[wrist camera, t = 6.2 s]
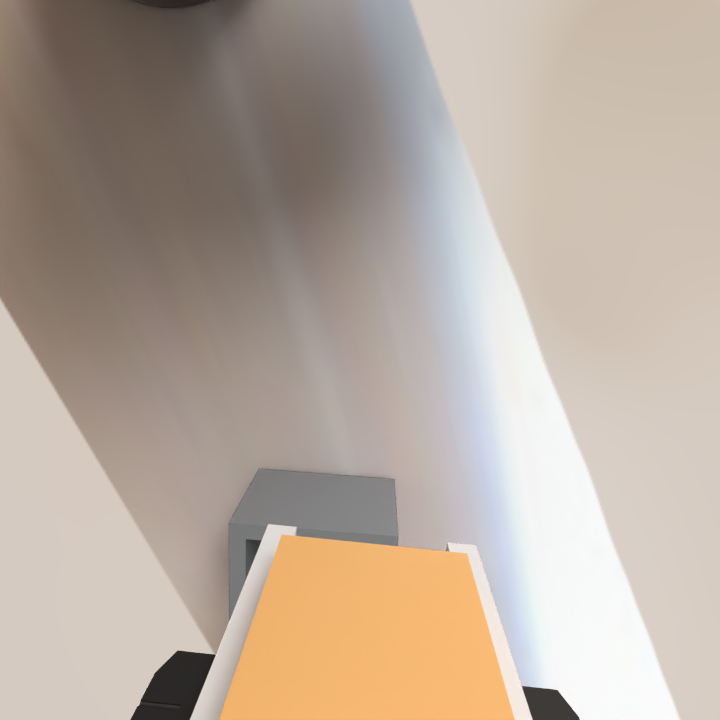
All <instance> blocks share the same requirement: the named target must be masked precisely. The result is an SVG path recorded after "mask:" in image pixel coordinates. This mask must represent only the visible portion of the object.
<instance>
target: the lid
mask: <svg viewBox="0 0 720 720" xmlns="http://www.w3.org/2000/svg"><path fill="white" fill-rule="evenodd" d="M219 720H515V719H514V715H513V712H512V708H511V705H510V701H509V698H508V694H507V691H506V687H505V684H504V680H503V677H502V673H501V670H500V666H499V663H498V659H497V656H496V653H495V649H494V646H493V642H492V639H491V635H490V632H489V628H488V625H487V621H486V618H485V614H484V611H483V607H482V604H481V600H480V597H479V593H478V590H477V586H476V583H475V579H474V576H473V572H472V569H471V565H470V562H469V558H468V555H467V553H458V552H448V551H438V550H429V549H419V548H409V547H399V546H390V545H380V544H370V543H360V542H351V541H341V540H331V539H322V538H312V537H302V536H292V535H283V534H282V535H281V538H280V541H279V544H278V547H277V550H276V553H275V556H274V559H273V562H272V565H271V568H270V571H269V574H268V577H267V580H266V582H265V585H264V588H263V591H262V594H261V597H260V600H259V603H258V606H257V609H256V612H255V615H254V618H253V621H252V624H251V627H250V630H249V633H248V635H247V638H246V641H245V644H244V647H243V650H242V653H241V656H240V659H239V662H238V665H237V668H236V671H235V674H234V677H233V680H232V683H231V686H230V688H229V691H228V694H227V697H226V700H225V703H224V706H223V709H222V712H221V715H220V718H219Z"/></svg>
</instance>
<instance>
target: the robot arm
mask: <svg viewBox="0 0 720 720" xmlns="http://www.w3.org/2000/svg"><path fill="white" fill-rule="evenodd" d="M133 1H136V2H139V3H143V4H146V5H152V6H158V7H185V6H191V5H196V4H200V3H203V2H206V1H209V0H133ZM296 531H297V527H292V526H282V525H273V524H268V526H267V529H266V531H265V534H264V536H263V539H262V541H261V544H260V546H259V549H258V551H257V554H256V556H255V559H254V561H253V564H252V566H251V569H250V571H249V574H248V576H247V579H246V581H245V584H244V586H243V589H242V591H241V593H240V596H239V598H238V601H237V603H236V606H235V608H234V611H233V613H232V616H231V618H230V621H229V623H228V626H227V628H226V631H225V633H224V636H223V638H222V641H221V643H220V646H219V648H218V651H217V653H216V655H213V654H204V653H194V652H185V651H177V652H176V653H175V654H174V655H173V656H172V657H171V658H170V659H169V660H168V661H167V662H166V663H165V664H164V665H163V666H162V667H161V668H160V669H159V670H158V671H157V672H156V673H155V674H154V677H153V678H152V680H151V682H150V684H149V686H148V688H147V689H146V691H145V693H144V695H143V697H142V699H141V702H140V705H139V706H138V707H137V709H136V710H135V712H134V714H133V716H132V718H131V720H219V718H220V715H221V712H222V709H223V706H224V703H225V700H226V697H227V694H228V691H229V688H230V686H231V683H232V680H233V677H234V674H235V671H236V668H237V665H238V662H239V659H240V656H241V653H242V650H243V647H244V644H245V641H246V638H247V635H248V633H249V630H250V627H251V624H252V621H253V618H254V615H255V612H256V609H257V606H258V603H259V600H260V597H261V594H262V591H263V588H264V585H265V582H266V580H267V577H268V574H269V571H270V568H271V565H272V562H273V559H274V556H275V553H276V550H277V547H278V544H279V541H280V538H281V535H282V534H283V535H292V536H296ZM446 551H448V552H458V553H467V555H468V558H469V562H470V565H471V569H472V572H473V576H474V579H475V583H476V586H477V590H478V593H479V597H480V600H481V604H482V607H483V611H484V614H485V618H486V621H487V625H488V628H489V632H490V635H491V639H492V642H493V646H494V649H495V653H496V656H497V659H498V663H499V666H500V670H501V673H502V677H503V680H504V684H505V687H506V691H507V694H508V698H509V701H510V705H511V708H512V712H513V715H514V719H515V720H580V719H579V717H578V716H577V714H576V713H575V712H574V711H573V709H572V708H571V707H570V706H569V704H568V703H567V702H566V701H565V699H564V698H563V697H562V696H561V694H560V693H559V692H558V690H552V689H543V688H534V687H525V686H521V682H520V679H519V676H518V673H517V670H516V667H515V664H514V661H513V658H512V655H511V651H510V648H509V645H508V642H507V639H506V636H505V633H504V630H503V627H502V624H501V621H500V617H499V614H498V611H497V608H496V605H495V602H494V599H493V596H492V593H491V590H490V587H489V583H488V580H487V577H486V574H485V571H484V568H483V565H482V562H481V559H480V556H479V553H478V549H477V546H476V545H468V544H458V543H448V542H447V548H446Z"/></svg>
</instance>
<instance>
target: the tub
mask: <svg viewBox="0 0 720 720" xmlns="http://www.w3.org/2000/svg"><path fill="white" fill-rule="evenodd" d="M268 524H273V525H282V526H292V527H297V531H296V536H302V537H312V538H322V539H331V540H341V541H351V542H360V543H370V544H380V545H390V546H398V523H397V509H396V494H395V479H386V478H373V477H360V476H347V475H334V474H321V473H308V472H295V471H282V470H269V469H259V470H258V472H257V473H256V475H255V477H254V479H253V481H252V482H251V484H250V486H249V488H248V490H247V491H246V493H245V495H244V497H243V499H242V500H241V502H240V504H239V506H238V508H237V509H236V511H235V513H234V515H233V516H232V518H231V520H230V522H229V621H230V618H231V616H232V613H233V611H234V608H235V606H236V603H237V601H238V598H239V596H240V593H241V591H242V589H243V586H244V584H245V581H246V579H247V576H248V574H249V571H250V569H251V566H252V564H253V561H254V559H255V556H256V554H257V551H258V549H259V546H260V544H261V541H262V539H263V536H264V534H265V531H266V529H267V526H268Z"/></svg>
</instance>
